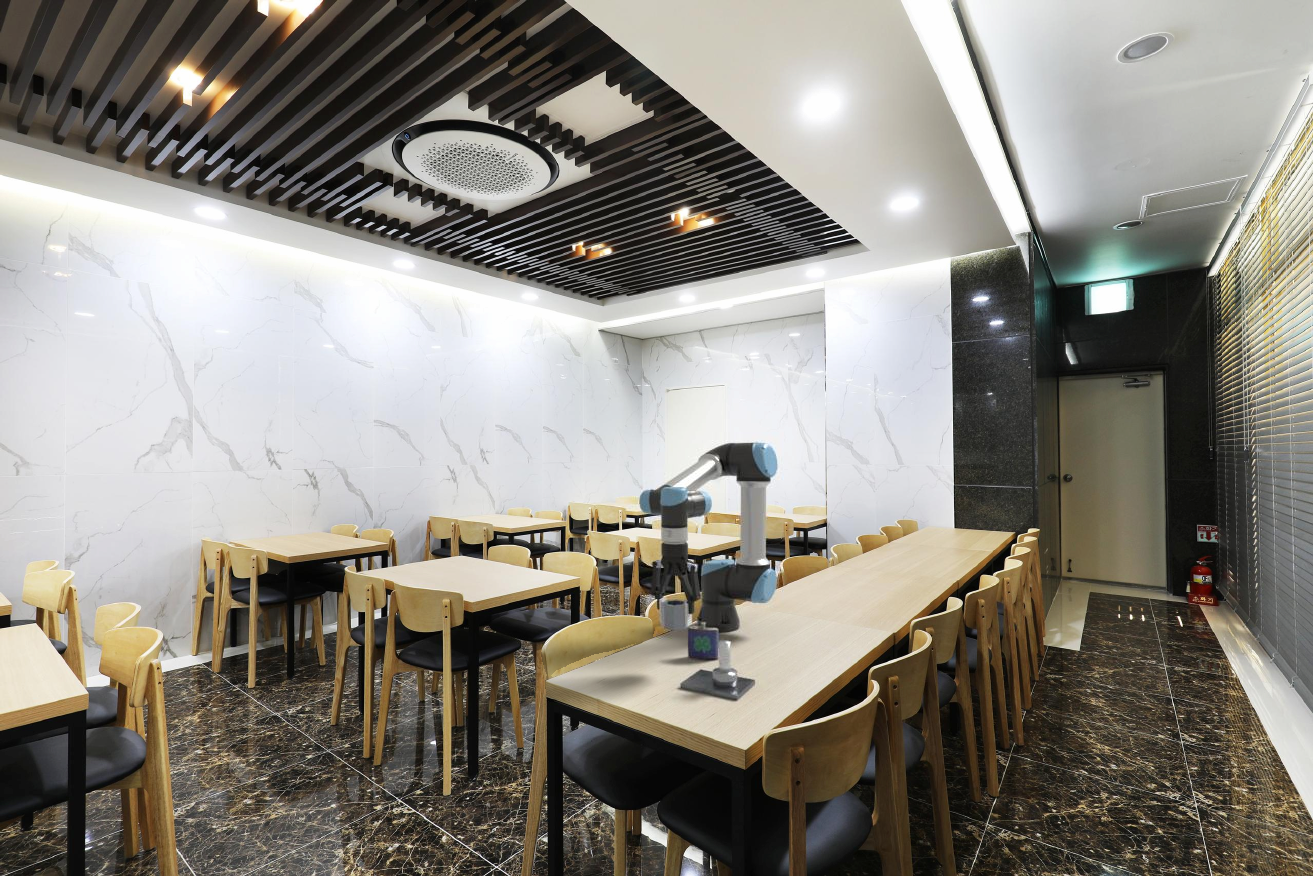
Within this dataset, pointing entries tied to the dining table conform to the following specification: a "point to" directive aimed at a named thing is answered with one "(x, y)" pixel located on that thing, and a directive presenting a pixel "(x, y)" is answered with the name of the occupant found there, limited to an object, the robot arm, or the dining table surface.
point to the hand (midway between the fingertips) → (675, 623)
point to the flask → (703, 642)
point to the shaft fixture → (720, 678)
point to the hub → (673, 614)
